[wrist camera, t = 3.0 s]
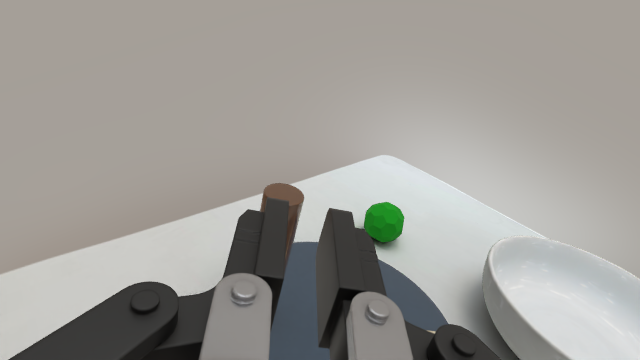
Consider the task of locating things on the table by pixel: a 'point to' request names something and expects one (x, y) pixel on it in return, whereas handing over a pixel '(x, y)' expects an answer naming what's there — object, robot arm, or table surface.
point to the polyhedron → (384, 222)
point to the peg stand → (301, 299)
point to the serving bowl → (561, 301)
